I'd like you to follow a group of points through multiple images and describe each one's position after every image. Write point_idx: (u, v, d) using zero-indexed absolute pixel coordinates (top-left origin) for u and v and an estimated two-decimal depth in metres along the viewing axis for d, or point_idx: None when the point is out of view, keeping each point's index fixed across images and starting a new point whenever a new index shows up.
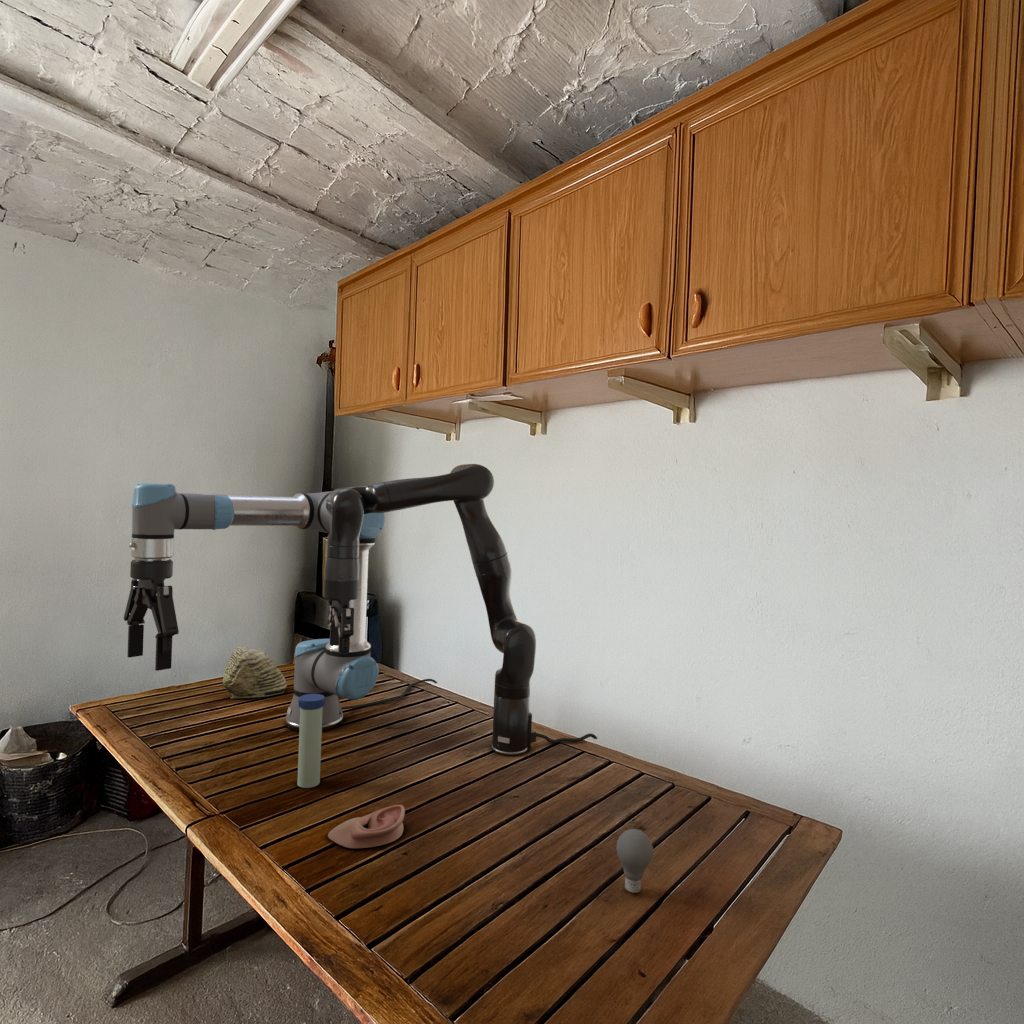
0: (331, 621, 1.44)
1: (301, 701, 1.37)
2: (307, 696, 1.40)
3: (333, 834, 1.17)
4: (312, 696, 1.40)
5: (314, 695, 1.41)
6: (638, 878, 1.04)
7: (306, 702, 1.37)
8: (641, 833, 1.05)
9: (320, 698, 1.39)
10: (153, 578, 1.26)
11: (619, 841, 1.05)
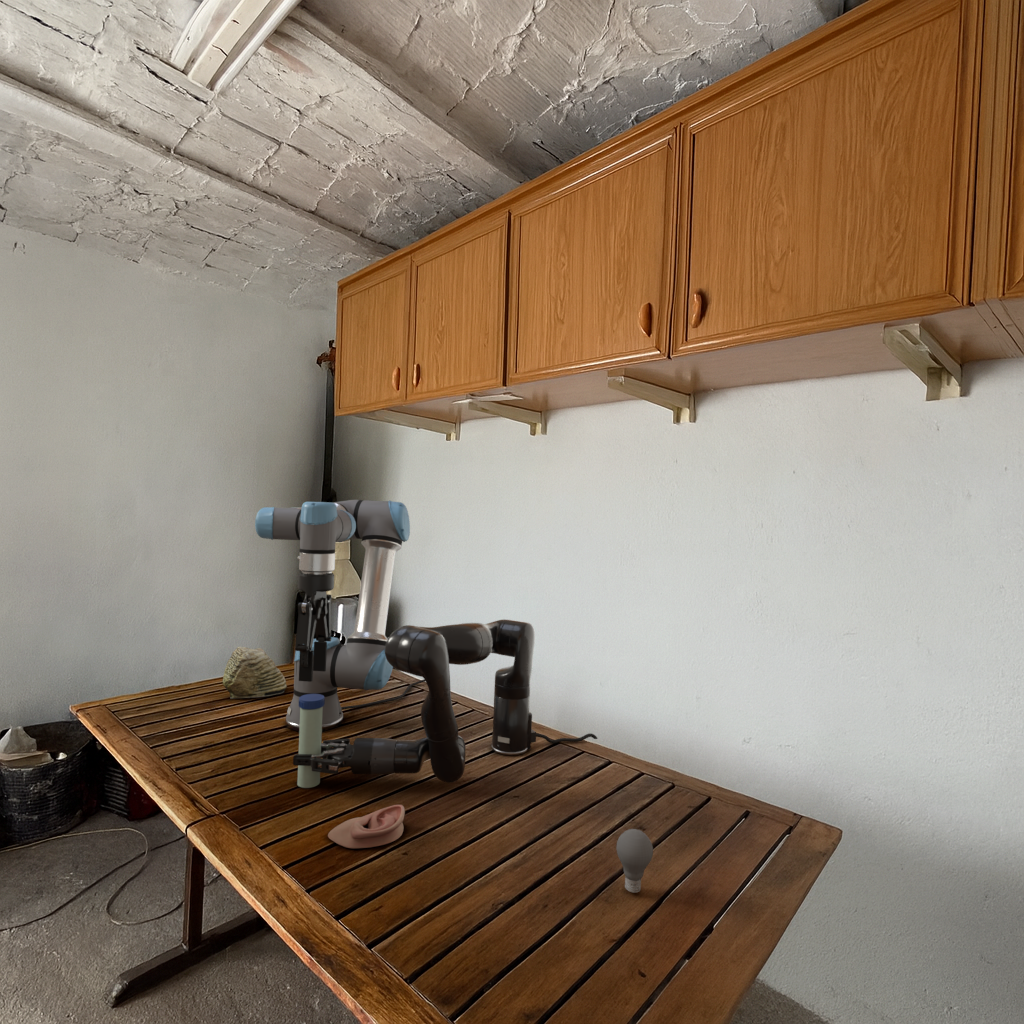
0: None
1: (301, 701, 1.37)
2: (307, 696, 1.40)
3: (333, 834, 1.17)
4: (312, 696, 1.40)
5: (314, 695, 1.41)
6: (638, 878, 1.04)
7: (306, 702, 1.37)
8: (641, 833, 1.05)
9: (320, 698, 1.39)
10: (304, 590, 1.35)
11: (619, 841, 1.05)
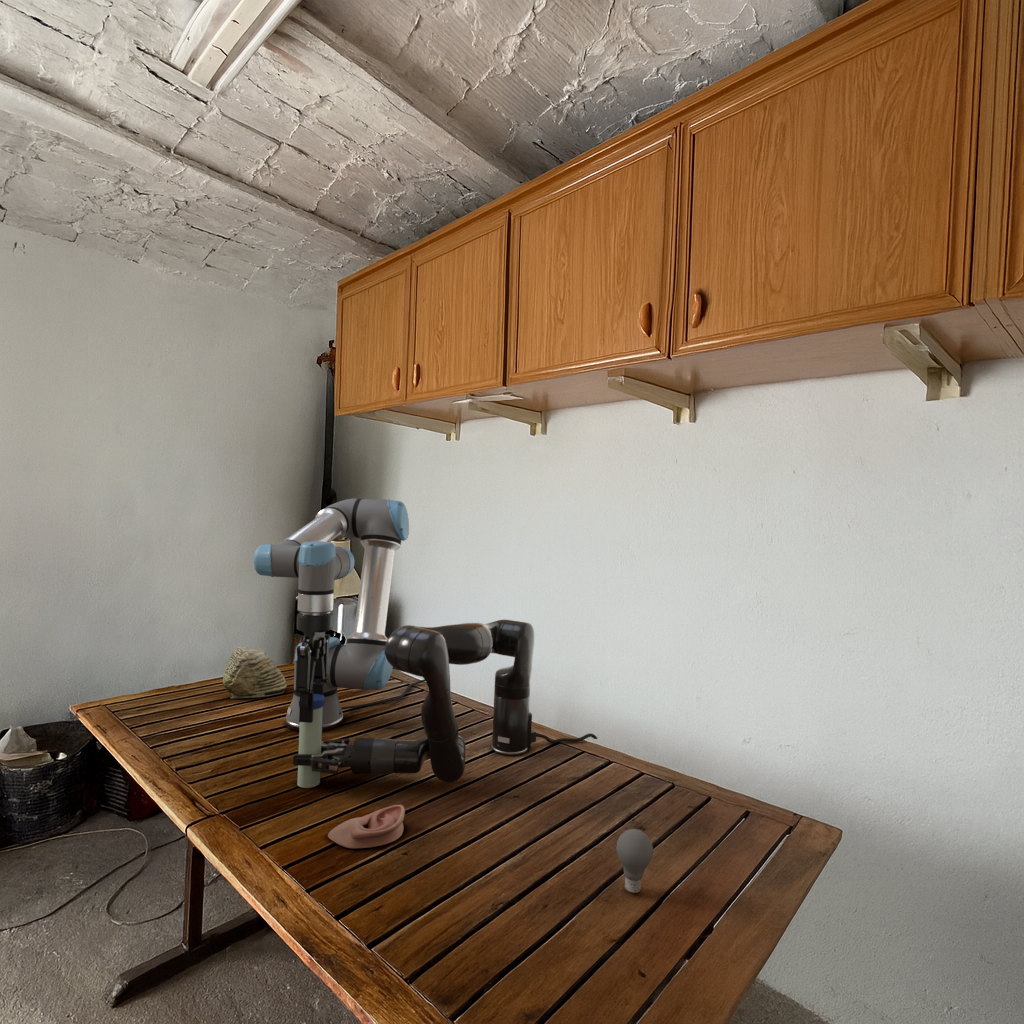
0: None
1: None
2: None
3: (333, 834, 1.17)
4: None
5: (314, 695, 1.41)
6: (638, 878, 1.04)
7: None
8: (641, 833, 1.05)
9: (320, 698, 1.39)
10: (303, 631, 1.36)
11: (619, 841, 1.05)
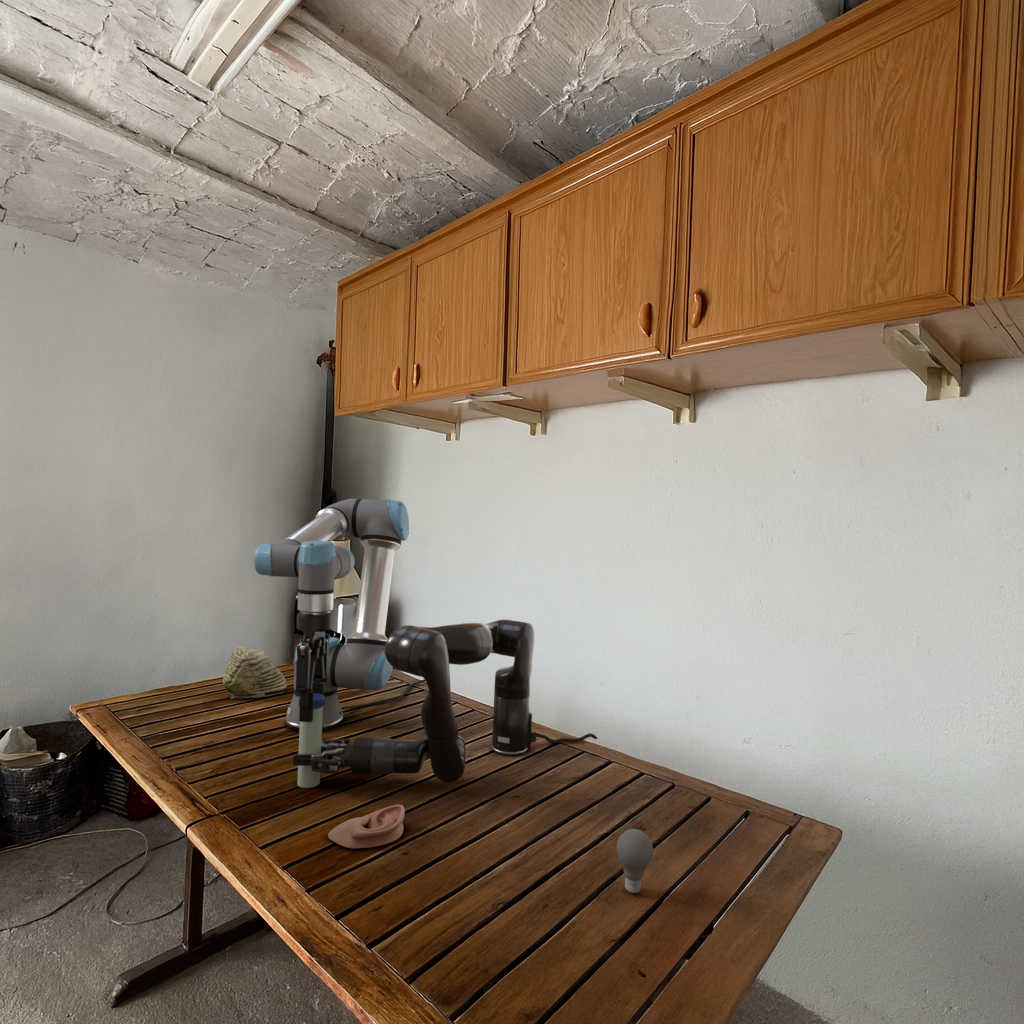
0: None
1: (318, 701, 1.38)
2: None
3: (333, 834, 1.17)
4: None
5: None
6: (638, 878, 1.04)
7: (323, 699, 1.39)
8: (641, 833, 1.05)
9: (316, 694, 1.41)
10: (303, 630, 1.36)
11: (619, 841, 1.05)
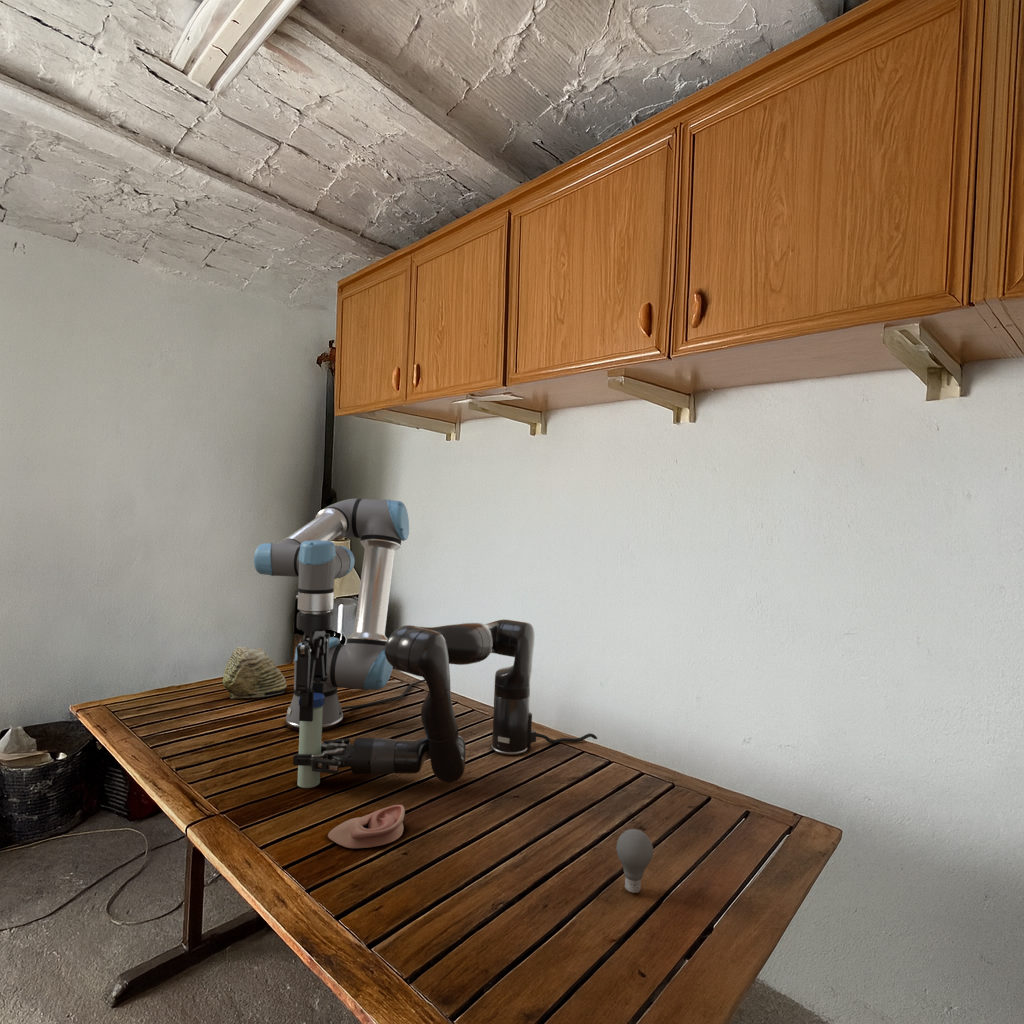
0: None
1: None
2: (316, 697, 1.39)
3: (333, 834, 1.17)
4: None
5: None
6: (638, 878, 1.04)
7: None
8: (641, 833, 1.05)
9: None
10: (303, 630, 1.36)
11: (619, 841, 1.05)
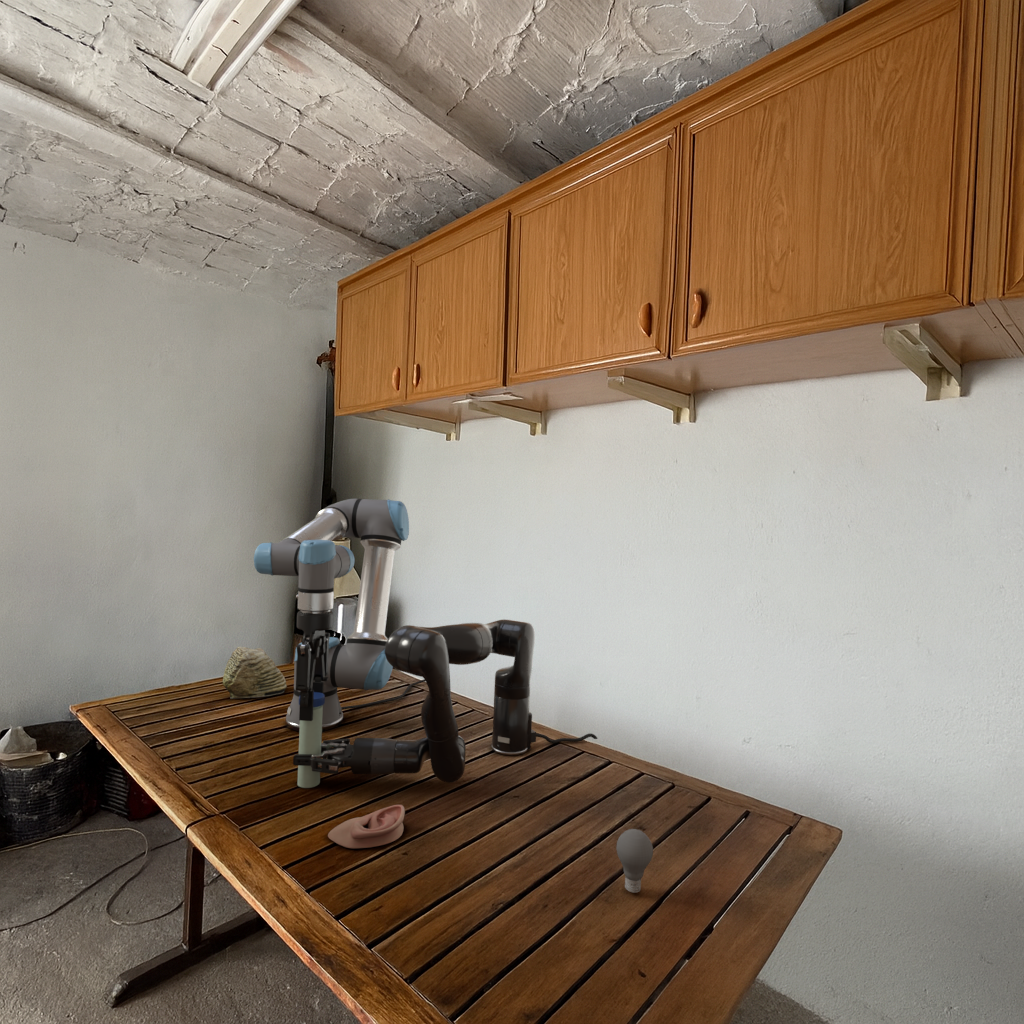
0: None
1: None
2: (315, 694, 1.41)
3: (333, 834, 1.17)
4: (314, 695, 1.39)
5: (318, 696, 1.39)
6: (638, 878, 1.04)
7: None
8: (641, 833, 1.05)
9: None
10: (303, 629, 1.36)
11: (619, 841, 1.05)
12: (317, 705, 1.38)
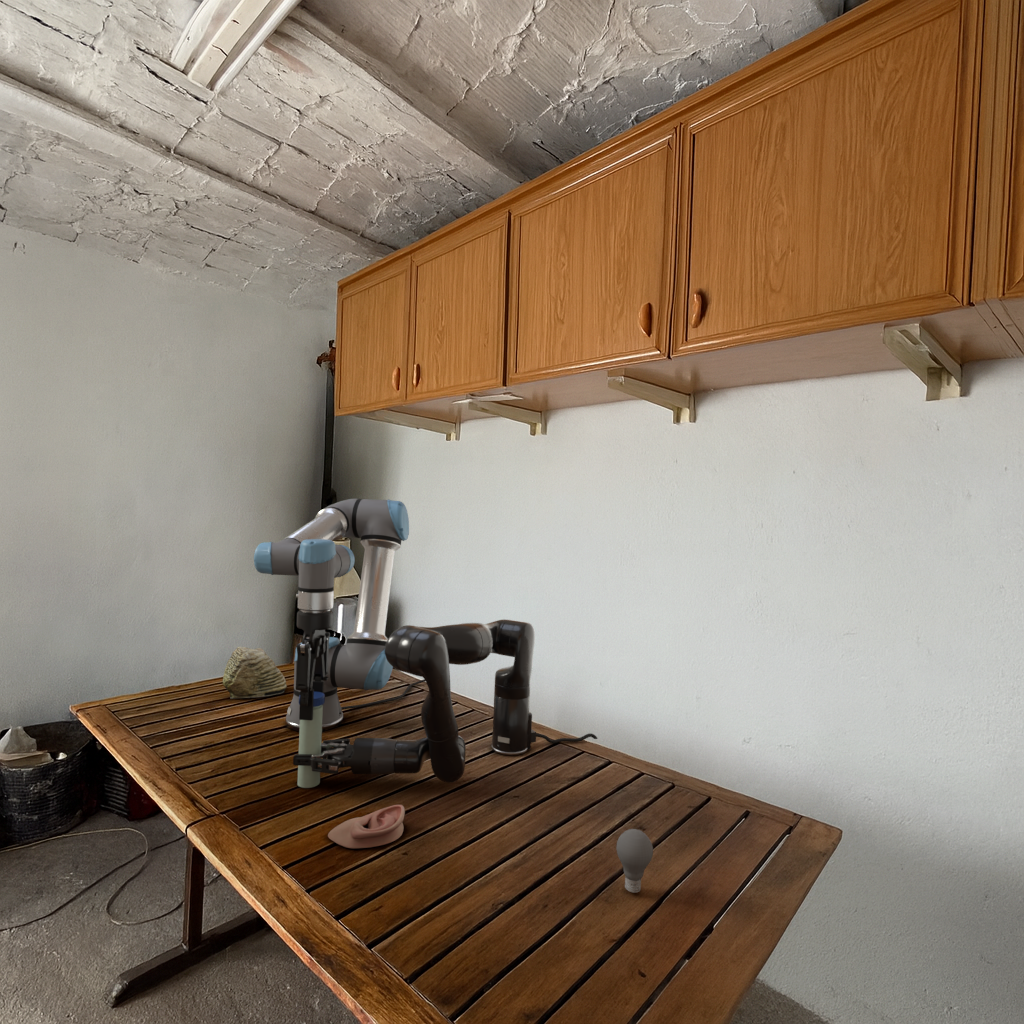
0: None
1: None
2: None
3: (333, 834, 1.17)
4: None
5: (314, 693, 1.41)
6: (638, 878, 1.04)
7: None
8: (641, 833, 1.05)
9: (320, 696, 1.39)
10: (303, 628, 1.36)
11: (619, 841, 1.05)
12: None
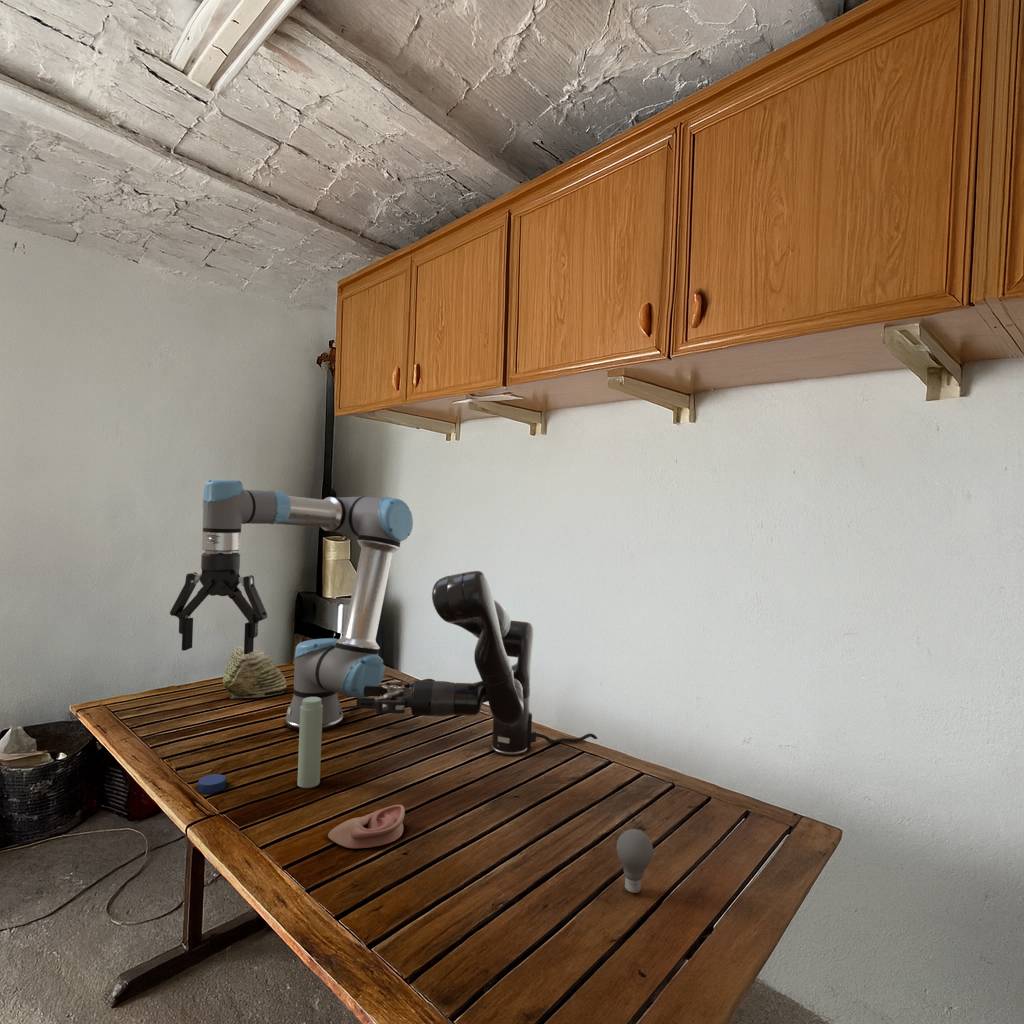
0: None
1: (217, 785, 1.34)
2: (207, 781, 1.35)
3: (333, 834, 1.17)
4: (209, 779, 1.36)
5: (206, 778, 1.36)
6: (638, 878, 1.04)
7: (223, 782, 1.35)
8: (641, 833, 1.05)
9: (218, 775, 1.38)
10: (234, 569, 1.34)
11: (619, 841, 1.05)
12: None
